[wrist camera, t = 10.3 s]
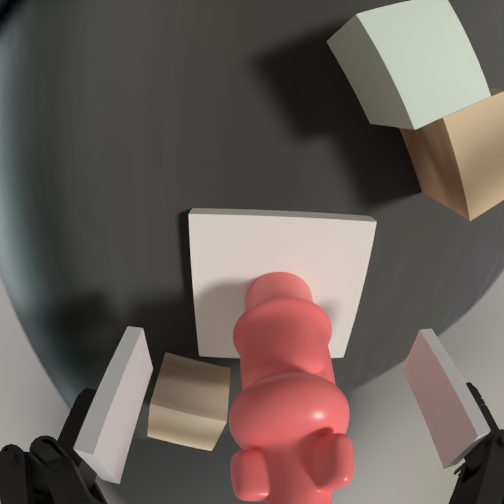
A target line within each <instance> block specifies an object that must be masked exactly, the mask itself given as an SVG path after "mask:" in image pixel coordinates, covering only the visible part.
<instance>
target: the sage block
mask: <svg viewBox="0 0 504 504" xmlns="http://www.w3.org/2000/svg"><path fill="white" fill-rule="evenodd" d="M327 44H328V45H329V47H330V49H331V50H332V52H333V54H334V55H335V57H336V59H337V61H338V62H339V64H340V66H341V68H342V69H343V71H344V73H345V75H346V77H347V79H348V80H349V82H350V84H351V86H352V88H353V90H354V92H355V94H356V96H357V98H358V100H359V102H360V104H361V106H362V108H363V110H364V112H365V114H366V116H367V118H368V120H369V123H370V124H376V125H384V126H391V127H398V128H405V129H411V130H416V129H418V128H420V127H422V126H425V125H427V124H429V123H431V122H433V121H436V120H438V119H440V118H442V117H445V116H447V115H449V114H451V113H453V112H456V111H458V110H460V109H463V108H465V107H467V106H469V105H472V104H474V103H476V102H479V101H481V100H483V99H486V98H488V97H491V94H490V91H489V89H488V86H487V83H486V80H485V77H484V75H483V72H482V70H481V67H480V65H479V62H478V60H477V57H476V55H475V53H474V50H473V48H472V46H471V44H470V42H469V39H468V37H467V35H466V33H465V31H464V29H463V27H462V25H461V23H460V21H459V19H458V18H457V16H456V14H455V12H454V10H453V8H452V7H451V5H450V3H449V1H448V0H411V1H406V2H401V3H397V4H392V5H388V6H384V7H380V8H376V9H373V10H369V11H365V12H362V13H359V14H356V15H355V16H354V17H352V18H351V19H350V20H349V21H348V22H347V23H346V24H345V25H344V26H342V27H341V28H340V29H339V30H338V31H337V32H336V33H335V34H334V35H333V36H332V37H331V38H330V39H329V40H328V41H327Z"/></svg>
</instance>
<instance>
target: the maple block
mask: <svg viewBox="0 0 504 504" xmlns="http://www.w3.org/2000/svg"><path fill="white" fill-rule="evenodd" d="M230 371H231V368H227V367H222V366H218V365H214V364H209V363H205V362H201V361H197V360H193V359H189V358H186V357H182V356H178V355H175V354H171V353H167V352H166V353H165V356H164V359H163V362H162V365H161V369H160V372H159V375H158V379H157V382H156V385H155V389H154V392H153V395H152V399H151V402H150V411H149V422H148V436H149V437H153V438H156V439H161V440H164V441H168V442H172V443H176V444H181V445H185V446H190V447H194V448H199V449H204V450H209V451H212V449H213V448H214V446H215V444H216V442H217V440H218V438H219V436H220V434H221V432H222V430H223V428H224V426H225V424H226V422H227V412H228V398H229V384H230Z"/></svg>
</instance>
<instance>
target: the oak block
mask: <svg viewBox="0 0 504 504" xmlns="http://www.w3.org/2000/svg"><path fill="white" fill-rule="evenodd" d="M488 89H489V88H488ZM489 91H490V94H491V97H488V98H486V99H483V100H481V101H479V102H476V103H474V104H472V105H469V106H467V107H465V108H463V109H460V110H458V111H456V112H453V113H451V114H449V115H447V116H445V117H442V118H440V119H438V120H436V121H433V122H431V123H429V124H427V125H425V126H422V127H420V128H418V129H416V130H411V129H405V128H399V129H400V131H401V134H402V136H403V139H404V141H405V144H406V147H407V149H408V152H409V155H410V158H411V160H412V163H413V166H414V169H415V172H416V175H417V178H418V181H419V184H420V187H421V191H422V193H424V194H426V195H428V196H430V197H431V198H433V199H435V200H436V201H438V202H440V203H442V204H443V205H445V206H447V207H448V208H450V209H452V210H453V211H455V212H456V213H458V214H460V215H461V216H463V217H464V218H466V219H468V220H469V221H471V220H473V219H474V218H476V217H477V216H479V215H481V214H482V213H484V212H485V211H487V210H488V209H490V208H491V207H493V206H494V205H496V204H497V203H499V202H500V201H502V200H503V199H504V89H489Z"/></svg>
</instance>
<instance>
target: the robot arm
mask: <svg viewBox="0 0 504 504" xmlns="http://www.w3.org/2000/svg"><path fill="white" fill-rule="evenodd" d="M402 369H403V371H404V373H405V375H406V378H407V380H408V382H409V384H410V386H411V389H412V391H413V393H414V395H415V397H416V400H417V402H418V405H419V407H420V409H421V411H422V414H423V416H424V419H425V421H426V424H427V426H428V428H429V431H430V433H431V436H432V438H433V441H434V444H435V446H436V449H437V451H438V454H439V457H440V459H441V462H442V465H443V468H444V469H445V468H448V467H451V466H453V465H456V464H457V463H459V462H460V461H461V460H462V459H463V458H464V459H465V461H466V462H465V463H463V464H462V465H461V466H460V467H459V468H458V469H457V470H455V472H454V474H456V473H458V472H459V471H460V470H461V472H460V473H459V474H458V476H459V477H458V480H457V483H456V486H455V489H454V492H453V494H452V496H451V499H450V501H449V504H504V430H503V429H501V430H499V428H498V426H497V425H496V423H495V421H494V419H493V417H492V415H491V413H490V411H489V409H488V408H487V406H486V405H485V403H484V401H483V399H481V395H480V393H479V392H478V390H477V389H476V388H475V387H474V386H473V385H472V384H471V383H470V382H468V383H465V382H464V380H463V378H462V377H461V375H460V373H459V371H458V370H457V368H456V366H455V365H454V363H453V362H452V360H451V358H450V357H449V355H448V354H447V352H446V350H445V349H444V347H443V346H442V344H441V343H440V341H439V339H438V338H437V336H436V335H435V333H434V332H433V330H432V329H423V330H419V333H418V335H417V337H416V340H415V342H414V344H413V346H412V349H411V351H410V353H409V355H408V357H407V359H406V361H405V363H404V366H403V368H402ZM152 371H153V366H152V362H151V359H150V355H149V351H148V347H147V343H146V339H145V334H144V330H143V328H139V327H130V326H128V327H127V329H126V331H125V333H124V335H123V337H122V339H121V341H120V343H119V345H118V347H117V349H116V351H115V353H114V355H113V357H112V360H111V362H110V364H109V366H108V368H107V370H106V372H105V375H104V377H103V379H102V381H101V383H100V386H99V388H98V390H93V389H89V388H85V389H84V390H83V391H82V392H81V393H80V394H79V395H78V396H77V398H76V400H75V402H74V405H73V408H72V409H71V411H70V415H69V416H68V418H67V420H66V422H65V424H64V427H63V429H62V431H61V433H60V436H59V438H58V441H57V440H55V439H54V438H53V437H50V436H40V437H38V438H36V439H35V440H34V441H33V442H32V443H31V446H30V452H24V451H23V450H22V449H21V448H20V447H18V446H17V445H13V444H10V445H6V446H5V447H3V448H2V450H1V451H0V502H1V504H107V502H106V500H105V498H104V496H103V494H102V492H101V491H100V489H99V487H98V485H97V483H96V482H95V478H96V475H98V476H99V477H100V478H101V479H103V480H106V481H110V482H114V483H117V484H120V480H121V475H122V472H123V468H124V465H125V461H126V457H127V453H128V450H129V446H130V443H131V439H132V436H133V432H134V429H135V426H136V422H137V419H138V415H139V412H140V409H141V406H142V402H143V399H144V396H145V393H146V390H147V387H148V383H149V380H150V377H151V374H152Z"/></svg>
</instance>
